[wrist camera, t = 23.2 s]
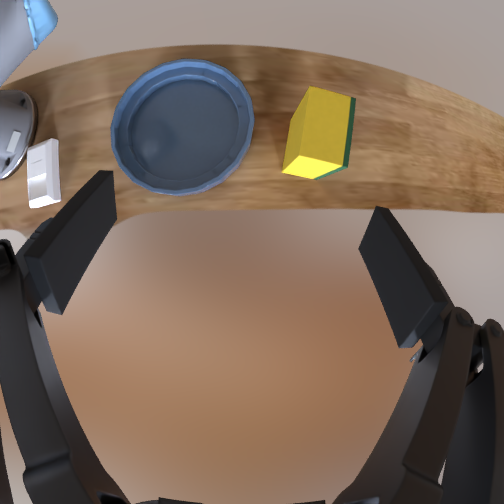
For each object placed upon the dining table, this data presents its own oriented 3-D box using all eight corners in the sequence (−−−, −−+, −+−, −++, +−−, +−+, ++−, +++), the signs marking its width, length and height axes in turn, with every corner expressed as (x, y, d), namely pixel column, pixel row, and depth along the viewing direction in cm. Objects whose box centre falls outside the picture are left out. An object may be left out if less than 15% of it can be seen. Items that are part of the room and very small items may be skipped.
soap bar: (58, 140, 33) (48, 137, 30) (61, 200, 34) (50, 200, 31) (34, 149, 33) (24, 147, 30) (37, 207, 34) (26, 208, 31)
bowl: (110, 187, 34) (98, 185, 31) (139, 68, 32) (131, 57, 28) (239, 205, 35) (238, 205, 32) (263, 79, 33) (265, 67, 29)
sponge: (281, 172, 35) (298, 155, 24) (290, 119, 34) (309, 85, 23) (317, 179, 35) (347, 167, 24) (324, 127, 34) (356, 98, 23)
